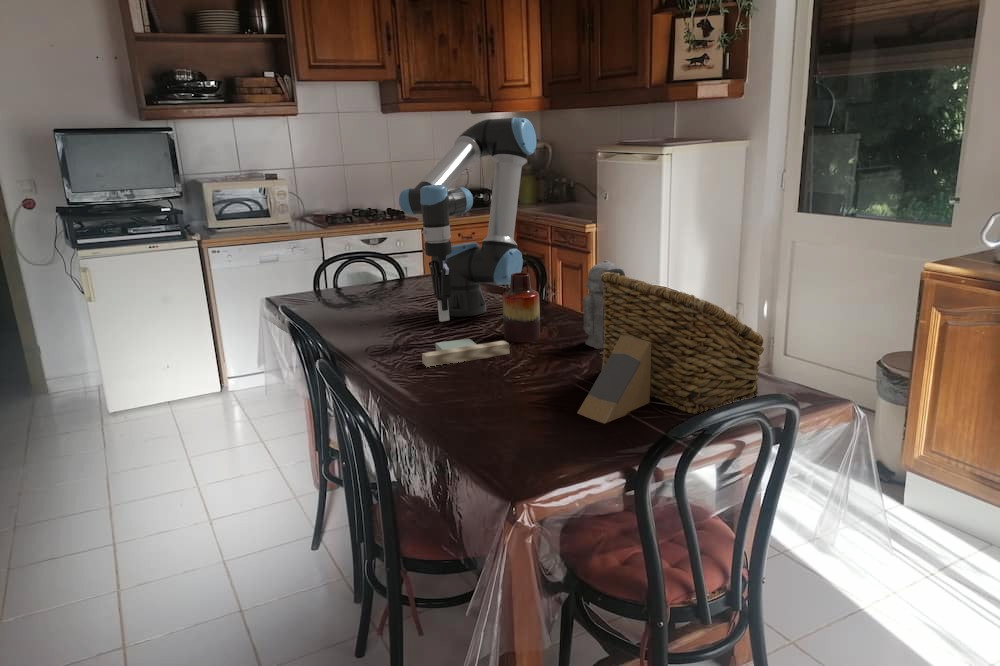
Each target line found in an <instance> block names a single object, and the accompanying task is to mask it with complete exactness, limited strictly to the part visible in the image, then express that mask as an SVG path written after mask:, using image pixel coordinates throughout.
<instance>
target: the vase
mask: <svg viewBox="0 0 1000 666" xmlns="http://www.w3.org/2000/svg"><path fill="white" fill-rule="evenodd" d="M509 286H510V287H509V288H510V289H509V290H507V291H505V292H503V294H502V319H503V320H502V321H503V322H502V323H503V339H504V341H506V342H507V341H508V342H510V343H511V342H512V343H520V344H521V343H530V342H531V343H532V342H535V341H538V340H540V339H541V316H540V315H541V314H540V312H541V310H540V294H539V292H538V291H536V290H534V289H532V286H531V278H530V273H528V272H521V273H513V274H511V284H509Z"/></svg>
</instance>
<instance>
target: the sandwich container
mask: <svg viewBox="0 0 1000 666" xmlns="http://www.w3.org/2000/svg"><path fill="white" fill-rule="evenodd" d="M602 367H603V366H602ZM650 374H651V342H649V341H645V340H642V339H638V338H634V337H629V336H625V335H621V336H620V338H619V340H618V342H617V343H616V345H615V347H614V349H613V351H612V353H611V355H610V357H609V359H608V360H607V362H606V364H605V366H604V367H603V369H602V368H601V371H600V373H599V374H598V376H597V378H596V379H595V382H594V384H593V385H592V387H591V388H590V390H589V392H588V394H587V396H586V397H585V398H584V401H583V402H582V404H581V406H580V407H579V409H578V410H577V412H576V413H577V414H578V415H580V416H584V417H586V418H587V419H591V420H593V421H596V422H598V423H601V424H607V423H610V422H612V421H614V420H618V419H619V418H623V417H625V416H627V415H630V414H631V412H632V411H635V410H637V409H639V408H641V407H644V406H645V405H648V404H650V401H651V399H650V397H651V395H650Z"/></svg>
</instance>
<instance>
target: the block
mask: <svg viewBox="0 0 1000 666" xmlns="http://www.w3.org/2000/svg"><path fill="white" fill-rule="evenodd" d="M472 345H478V344H477V343H476V342H474V341H473V340H472V339H470V338H464V339H463V338H462V339H454V340H448V341H440V342H435V351H440V350H446V349H453V348H459V347H465V346H472Z"/></svg>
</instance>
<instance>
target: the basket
mask: <svg viewBox="0 0 1000 666" xmlns="http://www.w3.org/2000/svg"><path fill="white" fill-rule="evenodd" d="M600 278H601V281H602V282H604V285H603V288H604V290H603V295H604V297H605V298H604V299H603V302H604V303H603V306H604V312H605V313H604V317H603V318H604V328H605V329H604V342H605V343H604V345H603V348H602V349H603V352H602V360H601V361H602V367H601V370H602V369H603V367H604V366H605V364H606V362H607V360H608V359H609V357H610V355H611V353H612V351H613V349H614V347H615V345H616V343H617V342H618V340H619V338H620V336H621V335H625V336H629V337H634V338H638V339H642V340H645V341H649V342H651V374H650V396H652V397H654V398H655V399H658V400H661V401H664V402H665V403H668V404H669V405H671V406H672V407H673V408H675V409H678V410H679V411H682V412H687V413H688V414H694V415H696V414H698V413H701V412H702V413H703V412H706V411H705V410H708V409H711V408H715V407H718V406H721V405H724V404H727V403H730V402H733V401H737V400H741V399H745V398H750V397H754V398H756V397H757V395H758V393H759V392H758V379H759V376H758V374H757V373H758V372H759V370H760V369H759V366H760V361H761V358H760V357H761V355H763V353H764V351H765V347H764V346H763V345H764V338H763V336H762V335H761V334H760V333H759V332H757V331H755V330H754V329H753V328H752V327H751V326H748V325H747V324H745V323H743V322H742V321H740V320H739V319H738V317H736V316H735V315H732V314H731V313H728V312H726V311H725V309H724V308H723V307H720V306H719V305H718V304H717V305H716V304H713V303H712V302H710V301H708V300H704V299H700V297H696V296H695V295H694V294H689V293H686V292H683V291H678V290H677V289H676V290H675V289H672V288H668V287H665V286H657V285H655V284H652V283H651V284H650V283H647V282H645V281H644V280H643V281H642V280H639V279H635V278H630V277H628V276H626V275H625V276H622V275H620V274H619V273H618V274H617V273H610V272H604V273H602V274H601V276H600ZM684 304H685V305H686V306H685V305H684ZM689 307H690V308H689ZM755 396H756V397H755ZM708 411H709V410H708ZM702 413H701V414H702Z"/></svg>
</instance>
